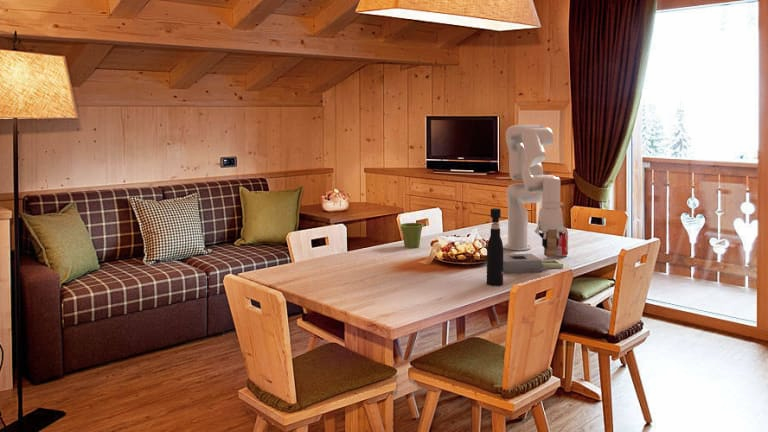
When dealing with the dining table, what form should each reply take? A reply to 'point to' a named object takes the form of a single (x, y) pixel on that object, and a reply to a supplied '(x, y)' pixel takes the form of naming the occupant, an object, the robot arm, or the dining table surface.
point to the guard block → (521, 263)
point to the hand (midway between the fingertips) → (550, 247)
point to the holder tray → (551, 264)
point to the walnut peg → (551, 243)
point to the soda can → (562, 245)
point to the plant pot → (411, 234)
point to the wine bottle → (495, 252)
